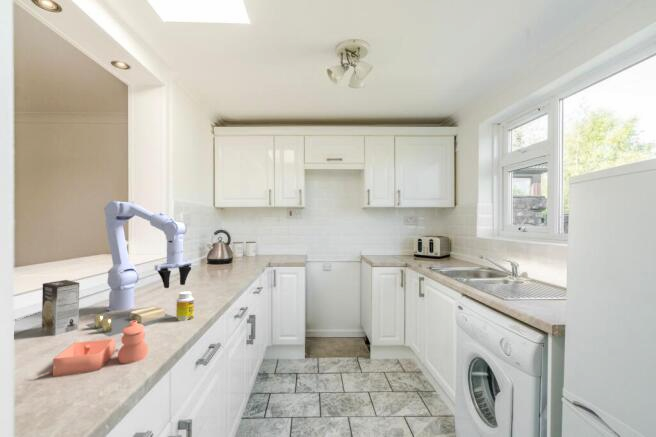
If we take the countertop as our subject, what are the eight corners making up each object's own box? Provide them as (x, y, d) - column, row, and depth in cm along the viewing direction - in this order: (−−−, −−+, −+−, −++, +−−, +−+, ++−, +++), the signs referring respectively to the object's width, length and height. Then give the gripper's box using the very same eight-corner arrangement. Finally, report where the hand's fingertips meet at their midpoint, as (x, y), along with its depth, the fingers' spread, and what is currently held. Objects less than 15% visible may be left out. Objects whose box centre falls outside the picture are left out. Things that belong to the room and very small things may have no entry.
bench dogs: (93, 328, 95) (93, 316, 95) (101, 325, 97) (101, 314, 97) (104, 333, 90) (104, 320, 90) (113, 331, 92) (113, 318, 92)
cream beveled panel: (130, 318, 104) (130, 311, 104) (153, 312, 111) (153, 306, 111) (141, 323, 100) (141, 315, 100) (164, 316, 106) (164, 309, 106)
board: (85, 327, 98) (85, 324, 98) (150, 310, 116) (150, 309, 116) (109, 338, 88) (109, 336, 88) (176, 319, 106) (176, 317, 106)
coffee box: (40, 333, 92) (41, 283, 93) (65, 326, 98) (66, 279, 98) (55, 338, 89) (55, 286, 89) (80, 331, 94) (80, 282, 94)
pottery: (52, 377, 67) (53, 334, 67) (73, 358, 76) (74, 321, 76) (142, 365, 73) (142, 326, 73) (151, 349, 82) (152, 314, 82)
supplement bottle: (190, 322, 102) (190, 294, 103) (173, 323, 102) (174, 294, 102) (195, 317, 108) (195, 290, 108) (179, 318, 107) (180, 290, 107)
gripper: (161, 254, 106) (161, 291, 105) (197, 250, 118) (197, 284, 118) (151, 253, 109) (151, 288, 109) (187, 249, 122) (187, 282, 122)
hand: (174, 286), depth 114 cm, fingers open, 6 cm apart
